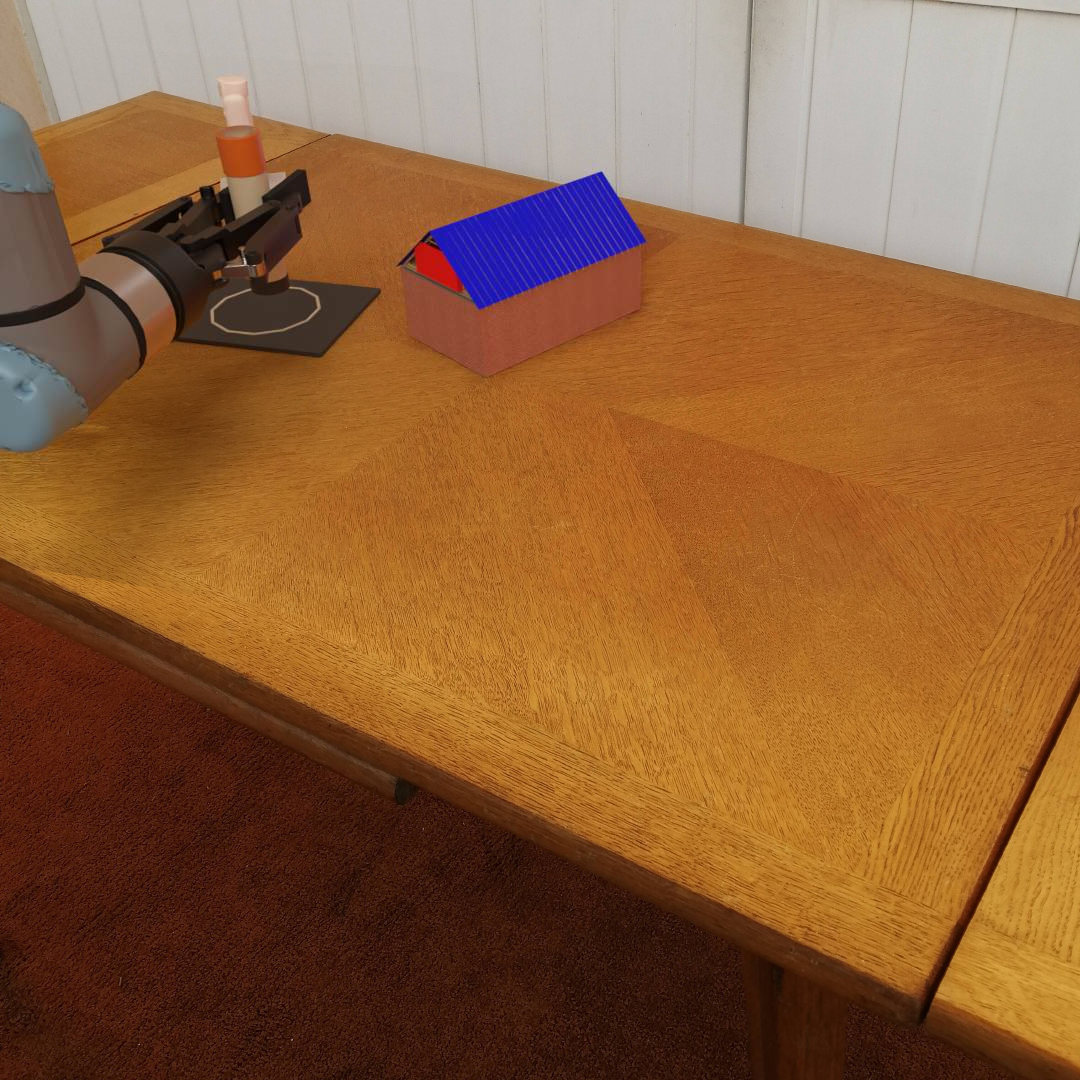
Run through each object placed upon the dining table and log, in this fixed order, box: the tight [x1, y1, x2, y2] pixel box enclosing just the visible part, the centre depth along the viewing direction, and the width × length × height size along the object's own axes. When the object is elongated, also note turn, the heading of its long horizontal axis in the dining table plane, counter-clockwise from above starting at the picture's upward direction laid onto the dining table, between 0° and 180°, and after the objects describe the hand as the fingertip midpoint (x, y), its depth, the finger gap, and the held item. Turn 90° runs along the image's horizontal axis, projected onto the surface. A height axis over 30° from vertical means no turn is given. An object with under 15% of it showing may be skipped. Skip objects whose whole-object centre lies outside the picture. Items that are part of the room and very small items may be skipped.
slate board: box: [175, 277, 382, 358], centre depth 108 cm, size 18×14×1 cm
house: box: [395, 170, 648, 379], centre depth 102 cm, size 12×20×12 cm, turn 134°
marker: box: [214, 125, 290, 296], centre depth 92 cm, size 3×3×13 cm
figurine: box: [216, 75, 287, 192], centre depth 122 cm, size 7×9×15 cm
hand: (283, 183), depth 96 cm, fingers closed on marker, 3 cm apart
